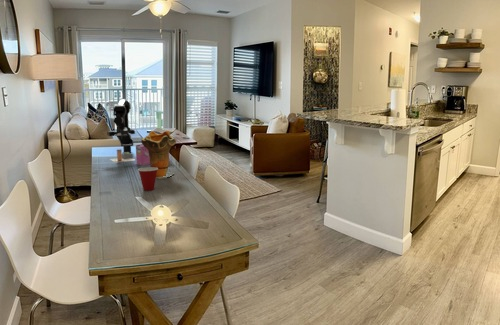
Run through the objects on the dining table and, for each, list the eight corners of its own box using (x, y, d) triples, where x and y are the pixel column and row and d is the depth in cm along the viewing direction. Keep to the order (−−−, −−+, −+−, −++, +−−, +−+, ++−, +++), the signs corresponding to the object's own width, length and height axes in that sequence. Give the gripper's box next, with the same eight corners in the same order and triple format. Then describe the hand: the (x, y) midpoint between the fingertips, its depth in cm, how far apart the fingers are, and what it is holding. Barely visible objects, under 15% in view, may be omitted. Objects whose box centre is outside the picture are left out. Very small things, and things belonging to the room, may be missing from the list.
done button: (123, 156, 297) (123, 152, 297) (128, 155, 300) (128, 151, 299) (125, 156, 295) (125, 153, 294) (130, 156, 297) (129, 152, 296)
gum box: (165, 159, 298) (164, 141, 295) (171, 161, 292) (170, 142, 289) (136, 163, 281) (135, 144, 278) (142, 165, 276) (141, 146, 273)
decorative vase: (142, 180, 234) (141, 133, 230) (142, 173, 256) (140, 130, 252) (178, 179, 240) (177, 132, 235) (175, 172, 262) (174, 129, 257)
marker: (116, 160, 287) (115, 149, 285) (121, 159, 289) (120, 149, 287) (118, 161, 284) (117, 150, 282) (122, 160, 286) (122, 149, 284)
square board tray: (108, 160, 292) (107, 155, 291) (129, 157, 302) (129, 152, 301) (115, 163, 280) (115, 158, 279) (137, 161, 290) (137, 156, 289)
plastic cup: (156, 185, 225) (156, 165, 223) (160, 190, 216) (159, 169, 213) (137, 187, 221) (136, 166, 219) (140, 192, 211) (139, 171, 209)
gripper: (111, 125, 273) (112, 147, 277) (137, 123, 285) (138, 144, 288) (105, 123, 282) (107, 145, 285) (131, 121, 293) (132, 142, 297)
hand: (121, 144), depth 289 cm, fingers closed
